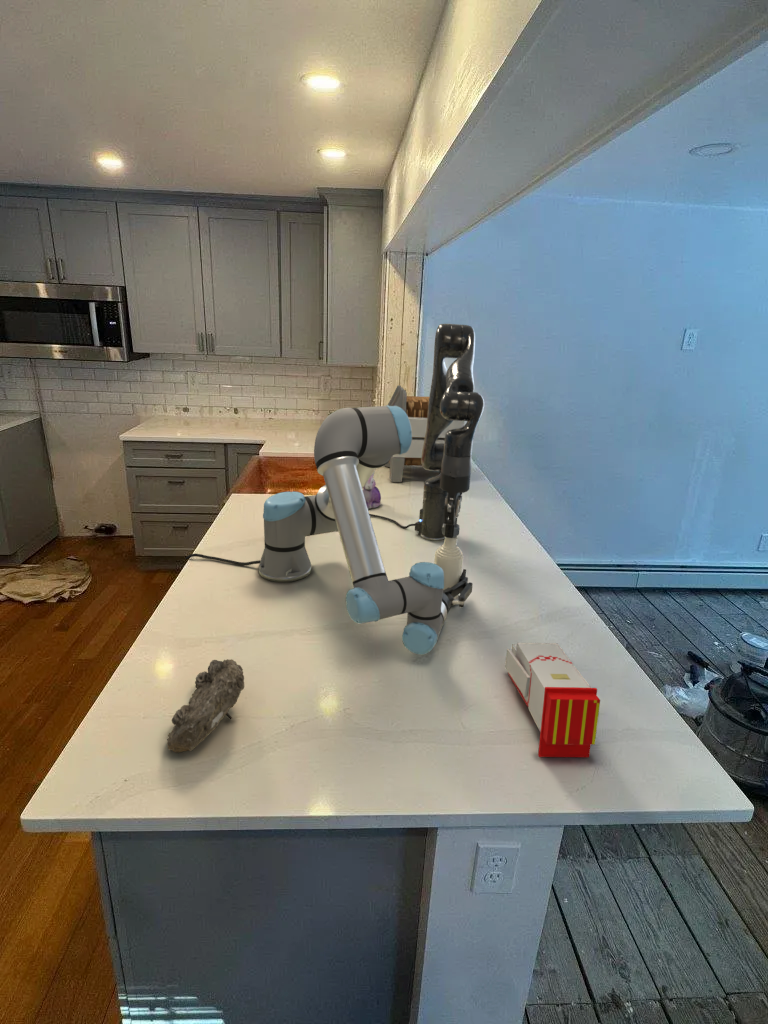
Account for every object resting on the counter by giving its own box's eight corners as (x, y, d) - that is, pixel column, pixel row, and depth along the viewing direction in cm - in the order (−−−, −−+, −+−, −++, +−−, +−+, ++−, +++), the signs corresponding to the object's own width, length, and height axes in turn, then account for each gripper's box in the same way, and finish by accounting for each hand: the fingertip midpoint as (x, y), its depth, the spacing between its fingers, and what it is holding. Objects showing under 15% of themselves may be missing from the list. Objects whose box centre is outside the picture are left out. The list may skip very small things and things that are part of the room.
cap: (461, 536, 148) (462, 527, 147) (445, 537, 147) (446, 529, 146) (454, 530, 152) (455, 521, 151) (439, 531, 151) (440, 522, 150)
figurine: (365, 510, 221) (366, 473, 215) (354, 502, 229) (355, 466, 224) (386, 507, 225) (388, 471, 220) (375, 500, 233) (376, 464, 228)
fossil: (192, 660, 117) (244, 628, 112) (224, 691, 120) (276, 661, 115) (142, 746, 98) (202, 712, 93) (182, 779, 101) (242, 748, 96)
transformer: (382, 463, 289) (386, 382, 275) (445, 464, 293) (451, 384, 279) (390, 482, 257) (394, 392, 243) (460, 483, 261) (468, 394, 247)
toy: (553, 625, 127) (610, 695, 97) (548, 680, 129) (601, 765, 100) (500, 624, 126) (540, 694, 97) (495, 679, 129) (533, 764, 100)
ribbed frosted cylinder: (428, 603, 153) (435, 539, 147) (432, 591, 160) (438, 529, 153) (456, 608, 152) (464, 543, 145) (458, 595, 159) (466, 532, 152)
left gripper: (391, 615, 141) (413, 577, 162) (472, 631, 136) (485, 589, 157) (392, 588, 139) (415, 553, 159) (475, 603, 133) (487, 564, 154)
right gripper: (446, 462, 151) (441, 522, 157) (436, 477, 138) (431, 541, 144) (474, 466, 149) (468, 526, 155) (467, 480, 136) (460, 546, 142)
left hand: (449, 571), depth 158 cm, fingers closed on ribbed frosted cylinder, 8 cm apart
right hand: (450, 533), depth 149 cm, fingers closed on cap, 4 cm apart
